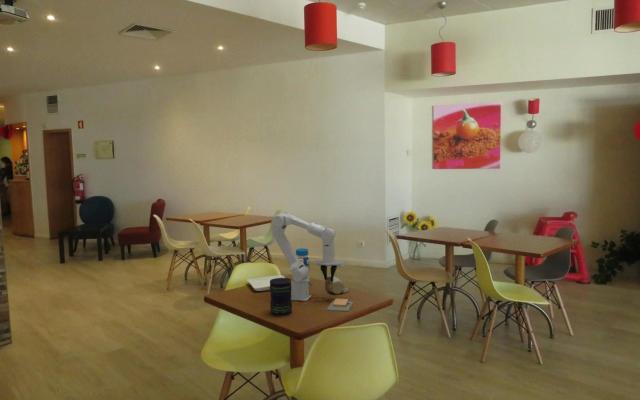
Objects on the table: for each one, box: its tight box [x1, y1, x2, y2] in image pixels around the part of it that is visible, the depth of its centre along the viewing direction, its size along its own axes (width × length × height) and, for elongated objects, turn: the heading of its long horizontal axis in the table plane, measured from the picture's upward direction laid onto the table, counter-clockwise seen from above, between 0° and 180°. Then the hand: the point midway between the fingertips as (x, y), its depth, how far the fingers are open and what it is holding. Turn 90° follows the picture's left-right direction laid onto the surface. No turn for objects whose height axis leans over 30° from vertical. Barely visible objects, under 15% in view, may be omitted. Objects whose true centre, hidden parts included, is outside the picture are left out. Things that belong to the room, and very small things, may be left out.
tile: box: [333, 298, 349, 307], centre depth 222 cm, size 6×1×6 cm
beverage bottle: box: [295, 247, 311, 287], centre depth 259 cm, size 8×8×20 cm
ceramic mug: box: [329, 276, 349, 295], centre depth 245 cm, size 11×8×8 cm
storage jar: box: [269, 277, 293, 317], centre depth 213 cm, size 10×10×15 cm
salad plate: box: [246, 274, 286, 292], centre depth 259 cm, size 21×21×3 cm
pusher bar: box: [324, 276, 333, 292], centre depth 230 cm, size 2×7×5 cm, turn 167°
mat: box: [326, 299, 354, 312], centre depth 222 cm, size 10×14×1 cm
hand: (329, 280), depth 230 cm, fingers closed on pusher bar, 2 cm apart
